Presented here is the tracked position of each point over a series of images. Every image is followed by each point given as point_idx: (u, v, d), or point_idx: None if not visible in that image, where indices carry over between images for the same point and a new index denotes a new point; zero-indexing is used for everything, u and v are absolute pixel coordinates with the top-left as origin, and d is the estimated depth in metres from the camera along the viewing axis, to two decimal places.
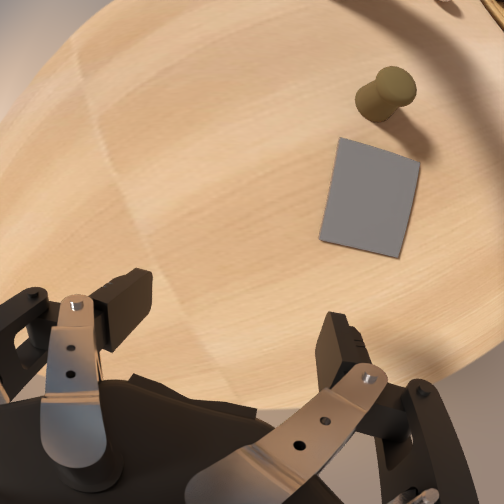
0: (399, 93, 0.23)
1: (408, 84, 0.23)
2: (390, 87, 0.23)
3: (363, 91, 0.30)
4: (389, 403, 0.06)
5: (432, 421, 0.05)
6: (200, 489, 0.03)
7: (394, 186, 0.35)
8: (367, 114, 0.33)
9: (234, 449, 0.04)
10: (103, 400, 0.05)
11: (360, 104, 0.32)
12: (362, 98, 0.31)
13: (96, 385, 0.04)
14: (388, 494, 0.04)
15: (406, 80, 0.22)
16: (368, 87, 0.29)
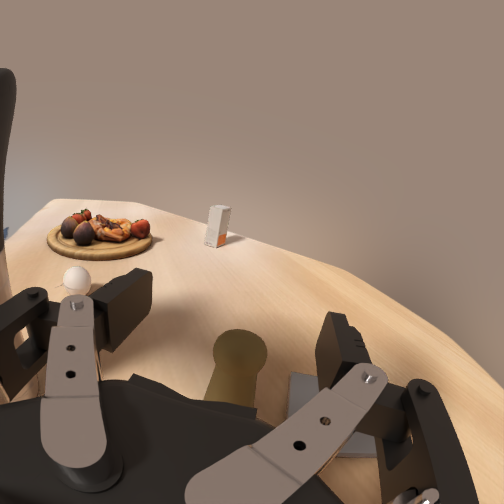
0: (258, 344, 0.25)
1: (243, 333, 0.26)
2: (253, 351, 0.24)
3: None
4: (389, 403, 0.06)
5: (432, 421, 0.05)
6: (200, 489, 0.03)
7: None
8: None
9: (234, 449, 0.04)
10: (103, 400, 0.05)
11: None
12: None
13: (96, 385, 0.04)
14: (388, 494, 0.04)
15: (239, 333, 0.26)
16: (224, 397, 0.25)
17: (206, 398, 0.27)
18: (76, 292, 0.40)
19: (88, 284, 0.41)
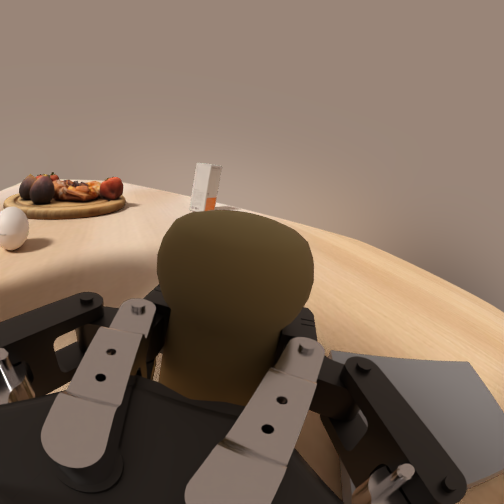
0: (289, 230, 0.09)
1: (245, 212, 0.10)
2: (278, 239, 0.08)
3: None
4: (326, 378, 0.07)
5: (381, 398, 0.06)
6: (200, 489, 0.03)
7: (397, 385, 0.16)
8: None
9: None
10: (129, 410, 0.05)
11: None
12: None
13: (122, 395, 0.04)
14: (356, 473, 0.05)
15: None
16: None
17: None
18: (5, 239, 0.23)
19: (22, 229, 0.25)
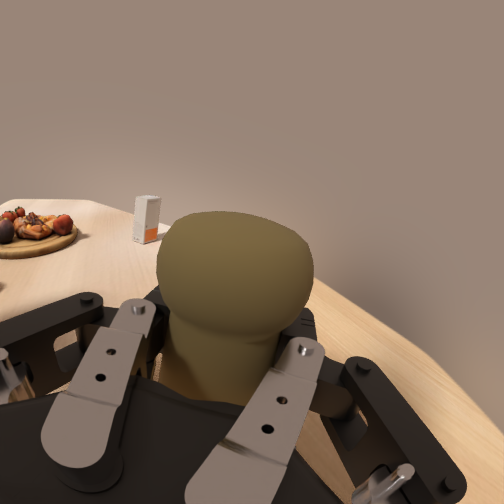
0: (289, 232, 0.09)
1: None
2: (278, 241, 0.07)
3: None
4: (326, 378, 0.07)
5: (381, 398, 0.06)
6: (200, 489, 0.03)
7: None
8: None
9: None
10: (129, 410, 0.05)
11: None
12: None
13: (122, 395, 0.04)
14: (356, 473, 0.05)
15: (231, 212, 0.09)
16: None
17: None
18: None
19: None
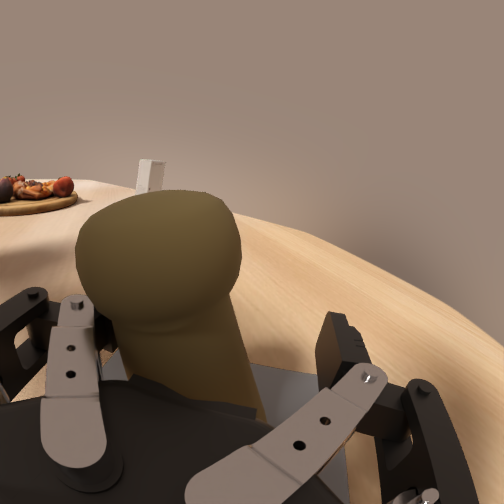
0: (194, 197, 0.07)
1: (158, 191, 0.08)
2: (166, 211, 0.06)
3: None
4: (389, 403, 0.06)
5: (432, 421, 0.05)
6: (200, 489, 0.03)
7: None
8: None
9: (234, 449, 0.04)
10: (103, 400, 0.05)
11: None
12: None
13: (96, 385, 0.04)
14: (388, 494, 0.04)
15: (143, 193, 0.08)
16: None
17: None
18: None
19: None
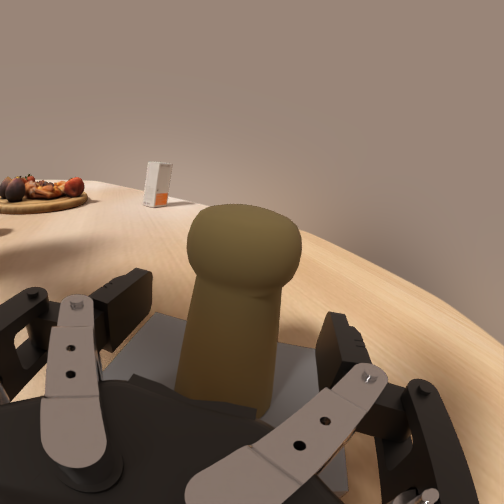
0: (283, 217, 0.12)
1: (251, 205, 0.13)
2: (273, 222, 0.11)
3: (212, 381, 0.12)
4: (389, 403, 0.06)
5: (432, 421, 0.05)
6: (200, 489, 0.03)
7: None
8: (266, 397, 0.14)
9: (234, 449, 0.04)
10: (103, 400, 0.05)
11: None
12: (230, 392, 0.12)
13: (96, 385, 0.04)
14: (388, 494, 0.04)
15: (241, 204, 0.13)
16: (212, 351, 0.12)
17: (179, 363, 0.14)
18: None
19: None
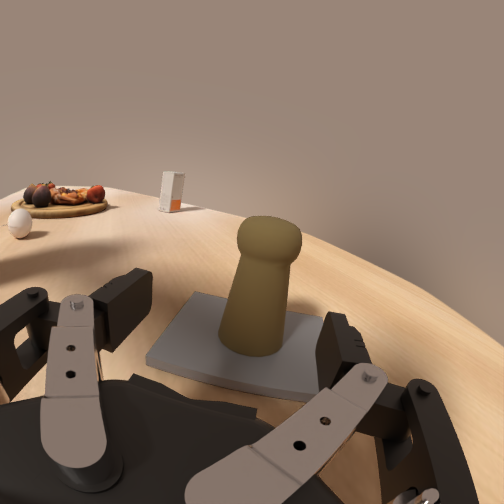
0: (292, 224, 0.21)
1: (273, 217, 0.23)
2: (287, 226, 0.20)
3: (249, 321, 0.21)
4: (389, 403, 0.06)
5: (432, 421, 0.05)
6: (200, 489, 0.03)
7: None
8: (280, 336, 0.23)
9: (234, 449, 0.04)
10: (103, 400, 0.05)
11: (265, 340, 0.22)
12: (260, 328, 0.21)
13: (96, 385, 0.04)
14: (388, 494, 0.04)
15: (267, 216, 0.22)
16: (251, 300, 0.21)
17: (225, 315, 0.23)
18: (16, 230, 0.35)
19: (27, 223, 0.37)
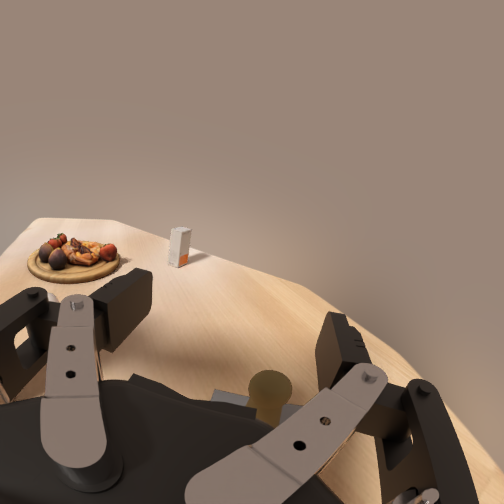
0: (285, 382, 0.29)
1: (273, 374, 0.30)
2: (282, 389, 0.28)
3: None
4: (389, 403, 0.06)
5: (432, 421, 0.05)
6: (200, 489, 0.03)
7: None
8: None
9: (234, 449, 0.04)
10: (103, 400, 0.05)
11: None
12: None
13: (96, 385, 0.04)
14: (388, 494, 0.04)
15: (269, 375, 0.30)
16: None
17: None
18: None
19: None
